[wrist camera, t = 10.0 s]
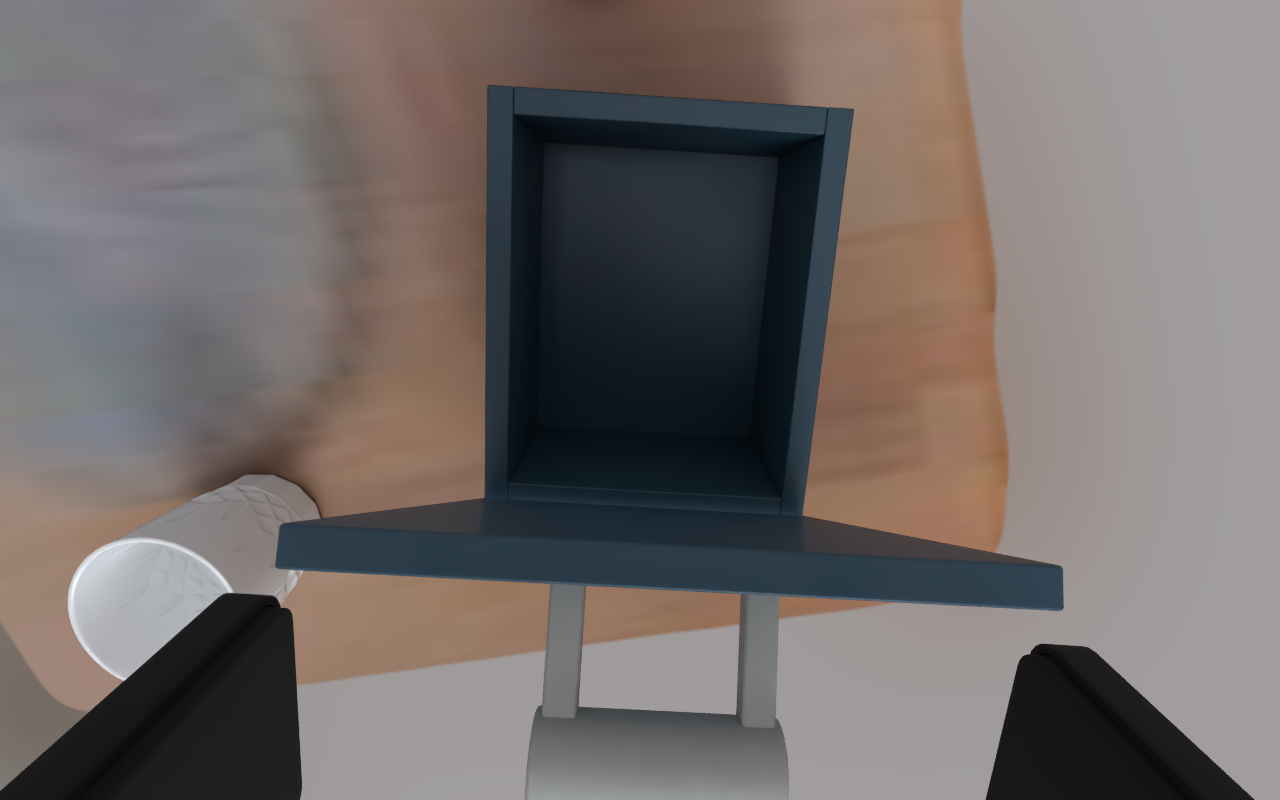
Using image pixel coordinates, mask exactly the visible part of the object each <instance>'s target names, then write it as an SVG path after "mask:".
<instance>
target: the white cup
mask: <svg viewBox="0 0 1280 800" xmlns="http://www.w3.org/2000/svg"><path fill="white" fill-rule="evenodd" d="M313 519H321V517H320V515H319V512H318V509H317V506H316V504H315V503H314V502H313V501H312V500H311V498H310V497H309V496H308V495H307V494H306V493H305V492H304V491H303V490H302V489H301V488H300V487H299V486H298V485H296V484H294V483H291V482H289V481H287V480H284V479H282V478H280V477H278V476H275V475H253V474H248V475H244V476H242V477H240V478H238V479H236V480H234V481H232V482H230V483H228V484H226V485H224V486H222V487H220V488H218V489H216V490H214V491H211V492H206V493H204V494H202V495H200V496H198V497H196V498H194V499H192V500H189V501H187V502H185V503H183V504H181V505H180V506H178V507H176V508H174V509H172V510H170V511H168V512H166V513H164V514H163V515H161V516H159V517H157V518H155V519H153V520H151V521H149V522H147V523H145V524H144V525H142V526H140V527H138V528H136V529H134V530H132V531H130V532H129V533H127V534H125V535H123V536H121V537H119V538H117V539H115V540H113V541H111V542H109V543H108V544H106V545H104V546H102V547H100V548H98V549H97V550H95V551H94V552H92V553H91V554H90V555H89V556H88V557H87V558H86V559H85V560H84V561H83V562H82V563H81V564H80V566H79V567H78V568H77V570H76V572H75V574H74V576H73V578H72V580H71V583H70V587H69V592H68V612H69V617H70V621H71V624H72V627H73V630H74V632H75V634H76V636H77V638H78V640H79V642H80V643H81V645H82V646H83V648H84V649H85V650H86V652H87V653H88V654H89V655H90V656H91V657H92V658H93V659H94V660H95V661H96V662H97V663H98V664H99V665H100V666H101V667H103V668H104V669H105V670H107V671H108V672H109V673H111V674H112V675H114V676H116V677H118V678H119V679H121V680H123V681H125V680H126V679H127V678H128V677H129V676H130V675H131V674H133V673H134V672H135V671H136V670H137V669H138V668H139V667H140V666H142V665H143V664H144V663H145V662H146V661H147V660H148V659H149V658H151V657H152V656H153V655H154V654H155V653H156V652H157V651H158V650H160V649H161V648H162V647H163V646H164V645H165V644H166V643H167V642H169V641H170V640H171V639H172V638H173V637H174V636H175V635H176V634H178V633H179V632H180V631H181V630H182V629H183V628H184V627H185V626H187V625H188V624H189V623H190V622H191V621H192V620H193V619H194V618H196V617H197V616H198V615H199V614H200V613H201V612H202V611H203V610H205V609H206V608H207V607H208V606H209V605H210V604H211V603H212V602H214V601H215V600H216V599H217V598H218V597H220V596H221V595H223V594H224V593H243V594H259V595H273V596H275V597H276V598H277V599H278V601H279V603H280V604H281V603H282V602H283V601H284V600H285V598H286V597H287V595H288V594H289V592H290V591H291V590H292V589H293V588H294V586H295V585H296V584H297V582H298V580H299V577H300V576H301V575H302V573H303V572H304V571H302V570H283V569H277V568H276V567H275V562H276V553H277V544H278V536H279V527H280V525H281V524H283V523H289V522H297V521H305V520H313Z"/></svg>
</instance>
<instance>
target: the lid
mask: <svg viewBox="0 0 1280 800" xmlns="http://www.w3.org/2000/svg"><path fill="white" fill-rule="evenodd" d="M275 567H276V568H277V569H283V570H302V571H321V572H339V573H358V574H377V575H395V576H414V577H433V578H452V579H470V580H489V581H508V582H526V583H545V584H551V585H550V599H549V614H548V628H547V643H546V657H545V672H544V686H543V701H542V705H541V706H538V708H537V710H536V712H535V716H534V720H533V725H532V731H531V737H530V744H529V752H528V761H527V772H526V788H525V800H788V797H789V770H788V758H787V750H786V744H785V739H784V734H783V731H782V728H781V726H780V723H779V721H778V720H777V719H776V717H775V716H776V686H777V652H778V621H779V596H788V597H807V598H826V599H844V600H863V601H882V602H900V603H919V604H938V605H957V606H976V607H994V608H1013V609H1031V610H1050V611H1061V610H1063V608H1064V606H1063V569H1062V567H1061V566H1059V565H1054V564H1048V563H1043V562H1038V561H1033V560H1028V559H1023V558H1018V557H1013V556H1007V555H1002V554H997V553H992V552H987V551H982V550H977V549H971V548H966V547H961V546H956V545H951V544H946V543H941V542H935V541H930V540H925V539H920V538H915V537H910V536H905V535H899V534H894V533H889V532H884V531H879V530H874V529H869V528H863V527H858V526H853V525H848V524H843V523H838V522H832V521H827V520H822V519H817V518H812V517H807V516H797V515H779V514H761V513H743V512H725V511H707V510H689V509H671V508H653V507H635V506H617V505H599V504H581V503H563V502H545V501H527V500H509V499H491V498H481V499H473V500H465V501H457V502H449V503H441V504H433V505H425V506H417V507H409V508H401V509H393V510H385V511H377V512H369V513H361V514H353V515H345V516H337V517H329V518H321V519H313V520H305V521H297V522H289V523H283V524H281V525H280V527H279V536H278V544H277V553H276V562H275ZM586 586H601V587H620V588H639V589H657V590H676V591H695V592H713V593H732V594H741V605H740V632H739V658H738V685H737V711H736V715H729V714H710V713H691V712H690V713H689V712H671V711H651V710H631V709H610V708H591V707H578V704H579V688H580V672H581V655H582V641H583V625H584V610H585V594H586Z"/></svg>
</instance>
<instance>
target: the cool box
mask: <svg viewBox="0 0 1280 800" xmlns="http://www.w3.org/2000/svg"><path fill="white" fill-rule="evenodd" d="M853 113H854V109H845V108H830V107H829V108H826V107H814V106H799V105H784V104H768V103H753V102H738V101H723V100H708V99H693V98H678V97H663V96H648V95H633V94H618V93H603V92H588V91H573V90H557V89H542V88H527V87H512V86H498V85H488V87H487V232H486V381H485V498H491V499H509V500H527V501H545V502H563V503H581V504H599V505H617V506H635V507H653V508H671V509H689V510H707V511H725V512H743V513H761V514H779V515H797V516H802V514H803V506H804V498H805V490H806V482H807V475H808V467H809V459H810V451H811V443H812V435H813V427H814V420H815V412H816V404H817V396H818V388H819V380H820V372H821V365H822V357H823V349H824V341H825V333H826V325H827V317H828V310H829V302H830V294H831V286H832V278H833V270H834V262H835V255H836V247H837V239H838V231H839V223H840V215H841V207H842V200H843V192H844V184H845V176H846V168H847V160H848V152H849V144H850V137H851V129H852V121H853Z"/></svg>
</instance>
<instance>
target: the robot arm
mask: <svg viewBox="0 0 1280 800" xmlns="http://www.w3.org/2000/svg"><path fill="white" fill-rule="evenodd" d="M301 790H302V776H301V758H300V740H299V721H298V703H297V685H296V667H295V649H294V631H293V618H292V613H291V611H290V610H289V609H287V608H281V607H280V603H279V601H278V599H277V598H276V597H275V596H273V595H259V594H243V593H224V594H223V595H221V596H220V597H218V598H217V599H216V600H215V601H214V602H212V603H211V604H210V605H209V606H208V607H207V608H206V609H205V610H203V611H202V612H201V613H200V614H199V615H198V616H197V617H196V618H194V619H193V620H192V621H191V622H190V623H189V624H188V625H187V626H185V627H184V628H183V629H182V630H181V631H180V632H179V633H178V634H176V635H175V636H174V637H173V638H172V639H171V640H170V641H169V642H167V643H166V644H165V645H164V646H163V647H162V648H161V649H160V650H158V651H157V652H156V653H155V654H154V655H153V656H152V657H151V658H149V659H148V660H147V661H146V662H145V663H144V664H143V665H142V666H140V667H139V668H138V669H137V670H136V671H135V672H134V673H133V674H131V675H130V676H129V677H128V678H127V679H126V680H125V681H124V682H122V683H121V684H120V685H119V686H118V687H117V688H116V689H115V690H113V691H112V692H111V693H110V694H109V695H108V696H107V697H106V698H104V699H103V700H102V701H101V702H100V703H99V704H98V705H97V706H95V707H94V708H93V709H92V710H91V711H90V712H89V713H88V714H87V715H85V716H84V717H83V718H82V719H81V720H80V721H79V722H77V723H76V724H75V725H74V726H73V727H72V728H71V729H70V730H69V731H67V732H66V733H65V734H64V735H63V736H62V737H61V738H59V739H58V740H57V741H56V742H55V743H54V744H53V745H52V746H51V747H49V748H48V749H47V750H46V751H45V752H44V753H43V754H42V755H40V756H39V757H38V758H37V759H36V760H35V761H34V762H32V763H31V764H30V765H29V766H28V767H27V768H26V769H25V770H24V771H22V772H21V773H20V774H19V775H18V776H17V777H16V778H14V779H13V780H12V781H11V782H10V783H9V784H8V785H7V786H5V787H4V788H3V789H2V790H1V791H0V800H300V797H301ZM986 800H1254V799H1253V798H1252V797H1251V796H1250V795H1249V794H1248V793H1247V792H1246V791H1244V790H1243V789H1242V788H1241V787H1240V786H1239V785H1238V784H1237V783H1236V782H1235V781H1234V780H1232V778H1231V777H1229V776H1228V775H1227V774H1226V773H1225V772H1224V771H1223V770H1222V769H1221V768H1220V767H1219V766H1218V765H1216V764H1215V763H1214V762H1213V761H1212V760H1211V759H1210V758H1209V757H1208V756H1207V755H1206V754H1204V752H1203V751H1201V750H1200V749H1199V748H1198V747H1197V746H1196V745H1195V744H1194V743H1193V742H1192V741H1191V740H1190V739H1188V738H1187V737H1186V736H1185V735H1184V734H1183V733H1182V732H1181V731H1180V730H1179V729H1178V728H1177V727H1176V726H1174V725H1173V724H1172V723H1171V722H1170V721H1169V720H1168V719H1167V718H1166V717H1165V716H1164V715H1163V714H1161V713H1160V712H1159V711H1158V710H1157V709H1156V708H1155V707H1154V706H1153V705H1152V704H1151V703H1150V702H1149V701H1148V700H1146V699H1145V698H1144V697H1143V696H1142V695H1141V694H1140V693H1139V692H1138V691H1137V690H1136V689H1135V688H1134V687H1132V686H1131V685H1130V684H1129V683H1128V682H1127V681H1126V680H1125V679H1124V678H1123V677H1122V676H1121V675H1120V674H1118V673H1117V672H1116V671H1115V670H1114V669H1113V668H1112V667H1111V666H1110V665H1109V664H1108V663H1106V662H1105V661H1104V660H1103V659H1102V658H1101V657H1100V656H1099V655H1098V654H1097V653H1096V652H1094V651H1093V650H1091V649H1090V648H1088V647H1083V646H1069V645H1054V644H1039V645H1037V646H1035V648H1034V649H1033V650H1032V651H1031V653H1030V655H1028V654H1027V655H1024V656H1023V657H1022V658H1021V659H1020V661H1019V664H1018V667H1017V671H1016V675H1015V679H1014V683H1013V687H1012V692H1011V696H1010V700H1009V704H1008V709H1007V713H1006V717H1005V721H1004V725H1003V729H1002V734H1001V738H1000V742H999V746H998V751H997V755H996V759H995V763H994V767H993V772H992V776H991V780H990V784H989V788H988V792H987V797H986Z"/></svg>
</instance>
